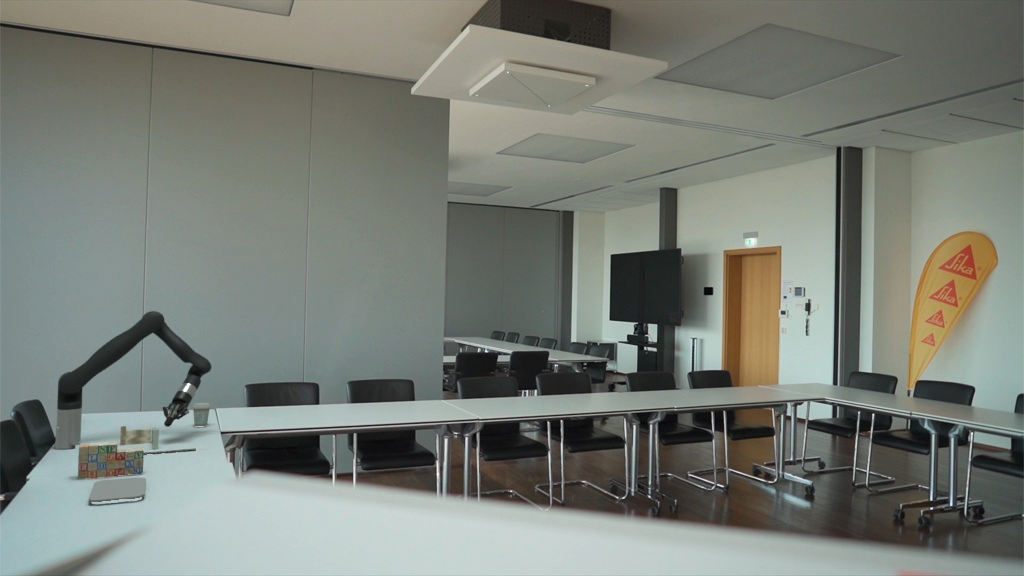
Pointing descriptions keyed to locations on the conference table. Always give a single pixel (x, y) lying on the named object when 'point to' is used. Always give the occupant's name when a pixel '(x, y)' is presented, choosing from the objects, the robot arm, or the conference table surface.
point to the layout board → (170, 451)
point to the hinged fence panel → (155, 438)
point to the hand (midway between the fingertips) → (166, 425)
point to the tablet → (118, 489)
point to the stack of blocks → (108, 460)
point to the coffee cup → (201, 413)
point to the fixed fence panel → (134, 436)
